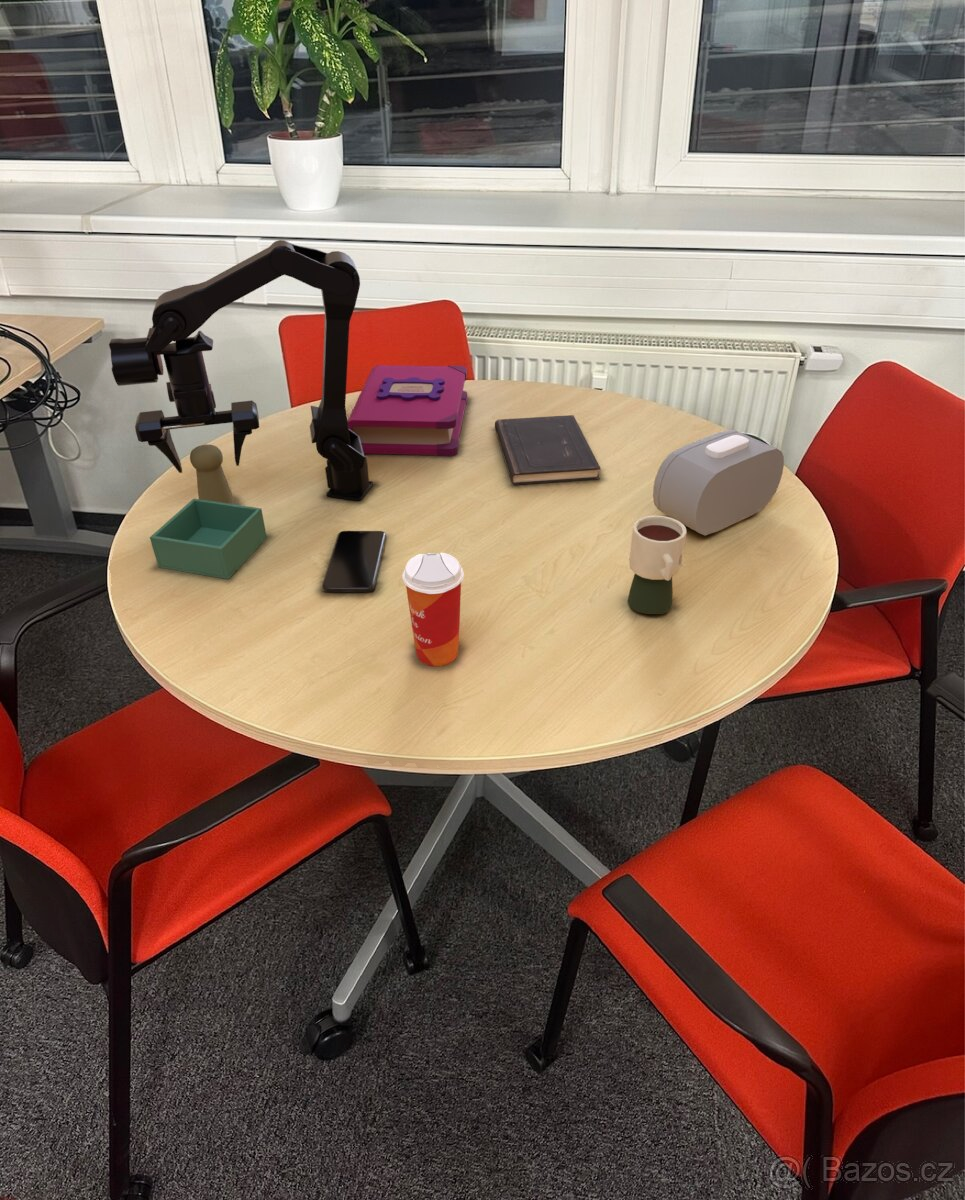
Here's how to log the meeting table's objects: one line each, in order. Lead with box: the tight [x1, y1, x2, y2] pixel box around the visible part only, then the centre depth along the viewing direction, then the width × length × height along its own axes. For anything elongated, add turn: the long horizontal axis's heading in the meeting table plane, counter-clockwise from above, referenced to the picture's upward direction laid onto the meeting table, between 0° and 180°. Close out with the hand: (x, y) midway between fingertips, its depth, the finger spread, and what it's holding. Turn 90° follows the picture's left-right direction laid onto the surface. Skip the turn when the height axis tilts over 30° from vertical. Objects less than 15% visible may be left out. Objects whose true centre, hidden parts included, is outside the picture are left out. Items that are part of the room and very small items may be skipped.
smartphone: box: [321, 530, 387, 593], centre depth 128 cm, size 8×1×16 cm
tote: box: [149, 498, 268, 580], centre depth 129 cm, size 12×12×6 cm
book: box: [347, 364, 469, 457], centre depth 166 cm, size 21×28×8 cm
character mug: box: [627, 515, 687, 615], centre depth 115 cm, size 11×7×13 cm, turn 8°
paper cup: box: [401, 551, 465, 667], centre depth 107 cm, size 8×8×14 cm
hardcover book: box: [494, 414, 602, 486], centre depth 157 cm, size 16×23×2 cm
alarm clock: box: [652, 428, 785, 537], centre depth 135 cm, size 21×10×13 cm, turn 126°
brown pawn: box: [189, 444, 237, 505], centre depth 139 cm, size 6×6×11 cm
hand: (209, 468), depth 138 cm, fingers open, 9 cm apart
